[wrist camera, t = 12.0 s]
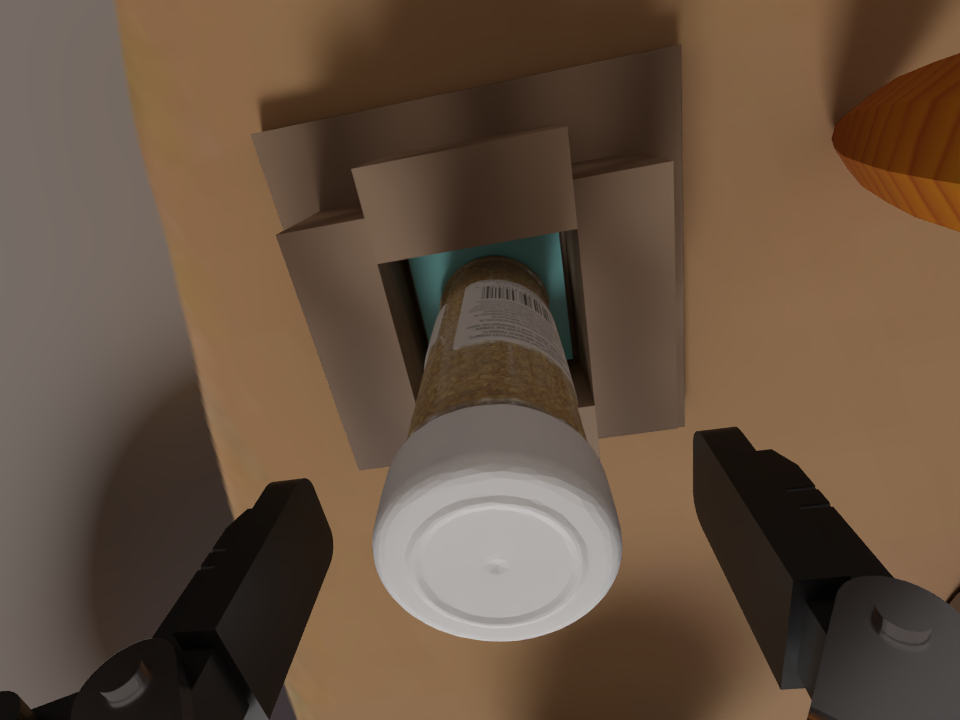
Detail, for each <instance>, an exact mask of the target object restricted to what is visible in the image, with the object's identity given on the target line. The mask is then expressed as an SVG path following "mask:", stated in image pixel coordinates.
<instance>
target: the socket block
mask: <svg viewBox="0 0 960 720" xmlns="http://www.w3.org/2000/svg"><path fill="white" fill-rule="evenodd" d="M251 137H252V139H253V142H254V145H255V148H256V151H257V154H258V157H259V160H260V163H261V166H262V168H263V171H264V174H265V177H266V180H267V183H268V186H269V189H270V192H271V194H272V197H273V200H274V203H275V206H276V209H277V212H278V215H279V218H280V220H281V223H282V226H283V229H284V231H282V232H280V233H279V234H277V235H276V237H277V240H278V242H279V245H280V248H281V251H282V254H283V257H284V259H285V262H286V265H287V268H288V271H289V274H290V276H291V279H292V282H293V285H294V288H295V290H296V293H297V296H298V299H299V302H300V305H301V307H302V310H303V313H304V316H305V319H306V322H307V324H308V327H309V330H310V333H311V336H312V339H313V341H314V344H315V347H316V350H317V353H318V355H319V358H320V361H321V364H322V367H323V370H324V372H325V375H326V378H327V381H328V384H329V387H330V389H331V392H332V395H333V398H334V401H335V403H336V406H337V409H338V412H339V415H340V418H341V420H342V423H343V426H344V429H345V432H346V435H347V437H348V440H349V443H350V446H351V449H352V452H353V454H354V457H355V460H356V463H357V466H358V468H359V470H366V469H373V468H381V467H388V466H390V465H391V463H392V461H393V459H394V457H395V455H396V454H397V452H398V450H399V449H400V448H401V446H402V445H403V444H404V443H405V441H406V440H407V438H408V433H409V428H410V424H411V418H412V415H413V413H414V408H415V403H416V400H417V396H418V393H419V389H420V384H421V381H422V377H423V374H424V366H425V359H426V354H427V350H428V347H429V341H428V336H427V332H426V328H425V324H424V320H423V316H422V312H421V308H420V304H419V300H418V296H417V292H416V288H415V284H414V280H413V276H412V272H411V268H410V264H409V258H415V257H421V256H426V255H432V254H438V253H443V252H449V251H455V250H460V249H466V248H472V247H477V246H483V245H489V244H494V243H500V242H506V241H511V240H517V239H523V238H529V237H534V236H540V235H546V234H551V233H557V232H559V240H560V249H561V258H562V266H563V275H564V284H565V293H566V301H567V310H568V319H569V328H570V336H571V345H572V354H573V359H569V360H566V361H567V364H568V367H569V371H570V374H571V378H572V381H573V385H574V388H575V392H576V395H577V400H578V410H579V414H580V417H581V421H582V426H583V428H584V432H585V435H586V440H587V441H588V443H589V444H590V446H591V447H592V448H593V449H594V451H595V453H596V455H597V456H598V458H599V460H600V453H599V443H598V439H600V438H607V437H615V436H623V435H630V434H638V433H645V432H653V431H660V430H668V429H675V428H678V427H685V411H684V305H683V199H682V93H681V44H680V45H675V46H670V47H665V48H660V49H656V50H651V51H646V52H641V53H637V54H632V55H627V56H622V57H617V58H613V59H608V60H603V61H598V62H594V63H589V64H584V65H579V66H574V67H570V68H565V69H560V70H555V71H551V72H546V73H541V74H536V75H531V76H527V77H522V78H517V79H512V80H508V81H503V82H498V83H493V84H488V85H484V86H479V87H474V88H469V89H465V90H460V91H455V92H450V93H445V94H441V95H436V96H431V97H426V98H422V99H417V100H412V101H407V102H402V103H398V104H393V105H388V106H383V107H379V108H374V109H369V110H364V111H360V112H355V113H350V114H345V115H340V116H336V117H331V118H326V119H321V120H317V121H312V122H307V123H302V124H297V125H293V126H288V127H283V128H278V129H274V130H269V131H264V132H259V133H254V134H251Z"/></svg>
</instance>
